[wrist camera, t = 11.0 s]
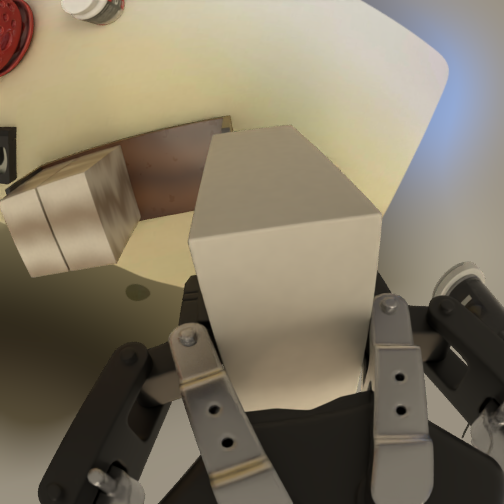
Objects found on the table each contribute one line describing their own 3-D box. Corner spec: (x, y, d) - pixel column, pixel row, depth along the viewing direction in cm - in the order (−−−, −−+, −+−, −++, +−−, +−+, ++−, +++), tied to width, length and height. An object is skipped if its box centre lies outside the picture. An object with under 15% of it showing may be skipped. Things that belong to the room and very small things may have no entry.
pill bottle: (132, 6, 27) (108, -9, 20) (103, 32, 28) (73, 25, 21) (111, -16, 25) (84, -32, 18) (83, 11, 26) (50, 1, 19)
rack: (244, 199, 41) (249, 246, 31) (64, 234, 42) (27, 282, 32) (230, 115, 35) (229, 132, 25) (40, 165, 36) (-10, 200, 26)
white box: (291, 124, 17) (383, 213, 7) (301, 257, 22) (352, 412, 12) (212, 134, 17) (186, 240, 7) (235, 266, 22) (244, 430, 12)
